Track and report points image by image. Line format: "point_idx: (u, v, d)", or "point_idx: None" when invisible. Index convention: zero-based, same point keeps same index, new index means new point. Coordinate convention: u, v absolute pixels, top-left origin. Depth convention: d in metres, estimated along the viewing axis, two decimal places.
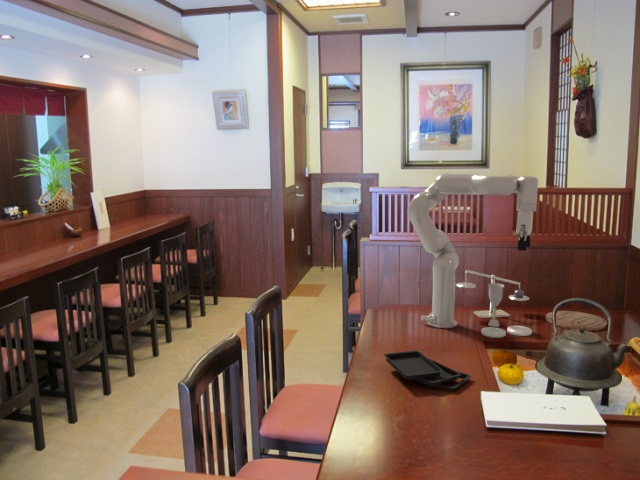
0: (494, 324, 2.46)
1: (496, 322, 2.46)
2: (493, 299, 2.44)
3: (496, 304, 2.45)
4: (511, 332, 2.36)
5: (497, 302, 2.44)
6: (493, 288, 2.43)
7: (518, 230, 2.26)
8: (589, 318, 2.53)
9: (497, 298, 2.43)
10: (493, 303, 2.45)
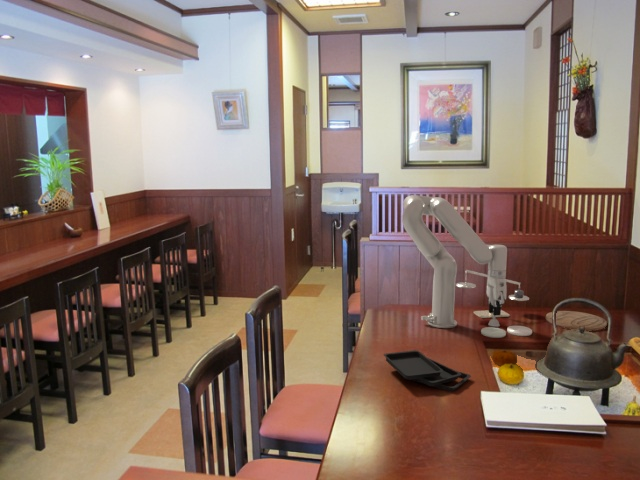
0: (494, 324, 2.46)
1: (496, 322, 2.46)
2: (493, 299, 2.44)
3: None
4: (511, 332, 2.36)
5: None
6: None
7: None
8: (589, 318, 2.53)
9: None
10: (493, 303, 2.45)
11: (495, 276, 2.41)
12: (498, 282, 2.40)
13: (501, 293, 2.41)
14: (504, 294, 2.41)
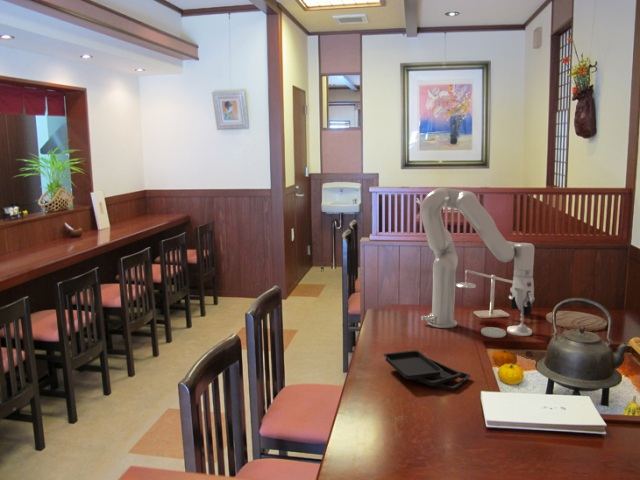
0: (522, 330, 2.34)
1: (524, 327, 2.35)
2: (520, 303, 2.33)
3: None
4: (511, 332, 2.36)
5: None
6: (520, 291, 2.32)
7: None
8: (590, 318, 2.53)
9: None
10: (520, 307, 2.34)
11: (522, 276, 2.31)
12: (525, 282, 2.30)
13: None
14: None
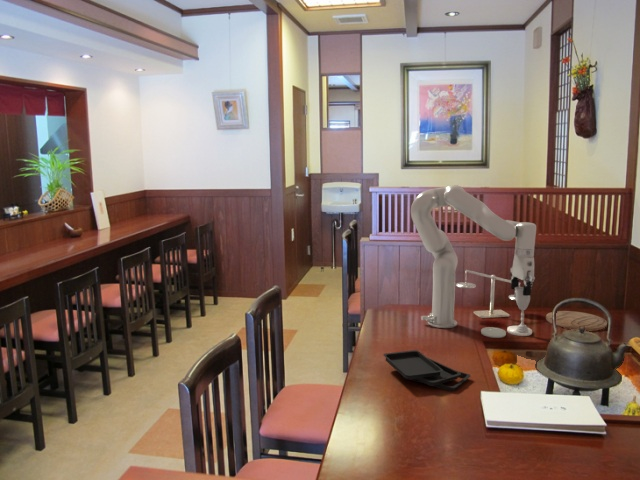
0: (522, 329, 2.34)
1: (524, 327, 2.34)
2: (520, 302, 2.33)
3: (524, 308, 2.34)
4: (511, 332, 2.36)
5: (525, 305, 2.33)
6: (520, 290, 2.33)
7: None
8: (590, 318, 2.53)
9: (525, 301, 2.32)
10: (521, 307, 2.34)
11: (523, 255, 2.30)
12: (526, 261, 2.29)
13: None
14: None
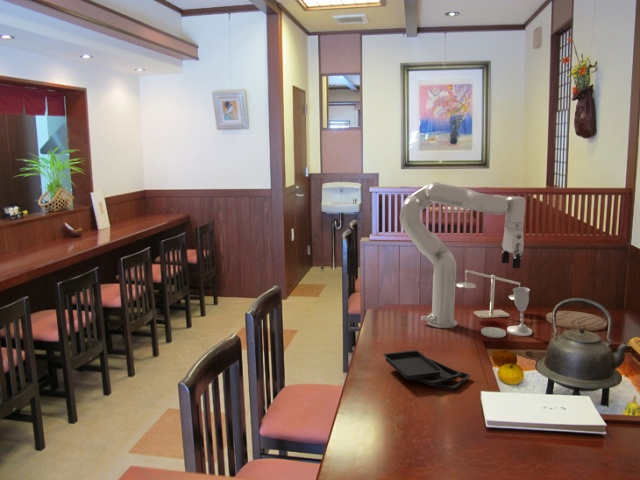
0: (522, 330, 2.34)
1: (524, 328, 2.34)
2: (519, 305, 2.31)
3: (523, 309, 2.32)
4: (511, 332, 2.36)
5: (524, 307, 2.32)
6: (518, 293, 2.30)
7: None
8: (590, 318, 2.53)
9: (523, 303, 2.30)
10: (520, 309, 2.32)
11: (512, 228, 2.34)
12: (515, 234, 2.33)
13: None
14: (521, 247, 2.34)
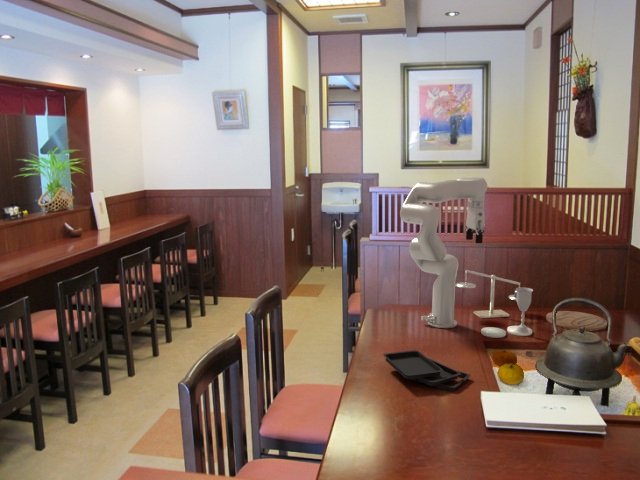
0: (522, 330, 2.34)
1: (525, 328, 2.34)
2: (521, 304, 2.32)
3: (525, 309, 2.33)
4: (511, 332, 2.36)
5: (526, 307, 2.32)
6: (522, 292, 2.31)
7: None
8: (590, 318, 2.53)
9: (526, 303, 2.31)
10: (521, 308, 2.33)
11: (474, 206, 2.55)
12: (477, 212, 2.54)
13: None
14: (482, 223, 2.54)
